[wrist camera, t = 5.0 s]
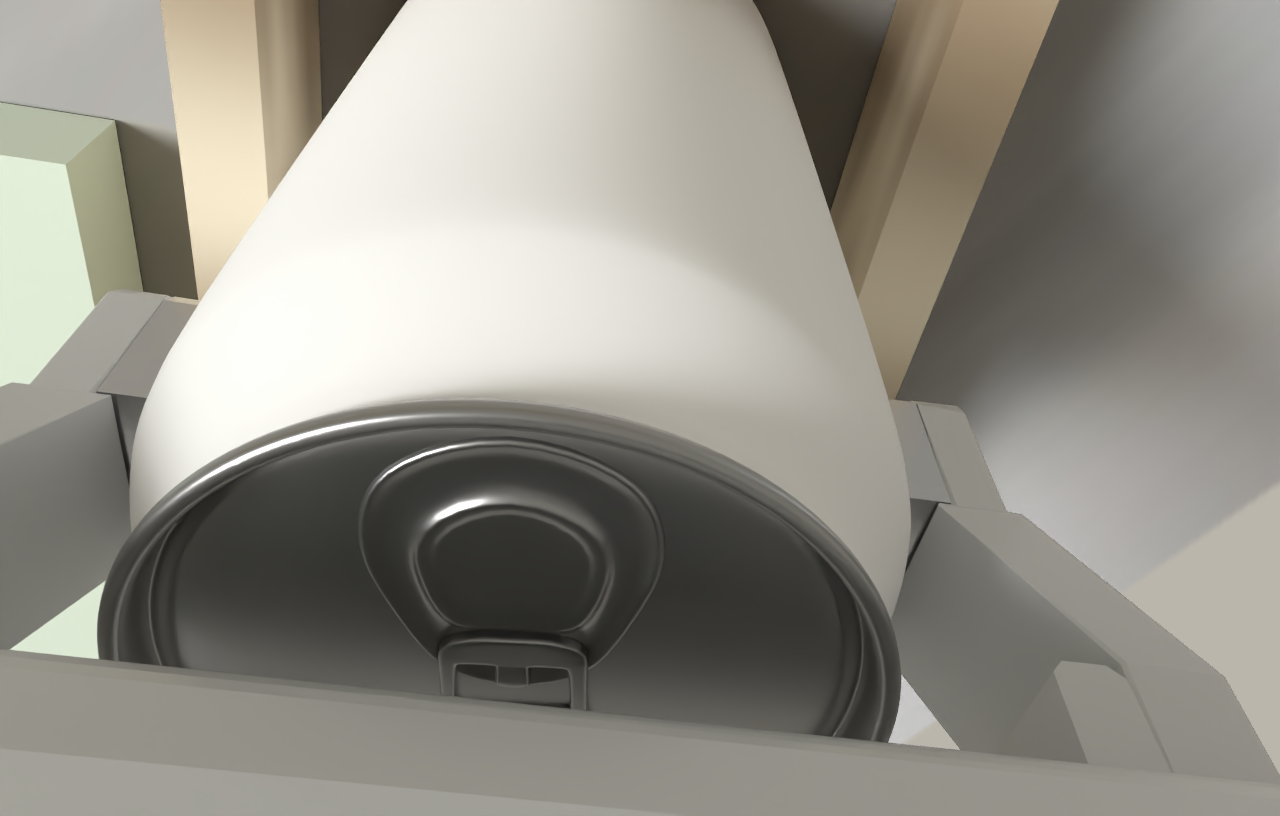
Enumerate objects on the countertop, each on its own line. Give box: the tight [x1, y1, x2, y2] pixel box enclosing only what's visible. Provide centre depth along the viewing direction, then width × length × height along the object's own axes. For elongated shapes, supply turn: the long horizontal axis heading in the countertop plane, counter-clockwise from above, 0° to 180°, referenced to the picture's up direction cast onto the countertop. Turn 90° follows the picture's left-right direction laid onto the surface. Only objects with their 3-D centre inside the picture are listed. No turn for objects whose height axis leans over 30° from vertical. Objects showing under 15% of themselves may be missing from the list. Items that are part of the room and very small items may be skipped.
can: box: [97, 0, 911, 743], centre depth 12 cm, size 6×6×12 cm
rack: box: [160, 0, 1059, 400], centre depth 18 cm, size 20×11×3 cm, turn 171°
